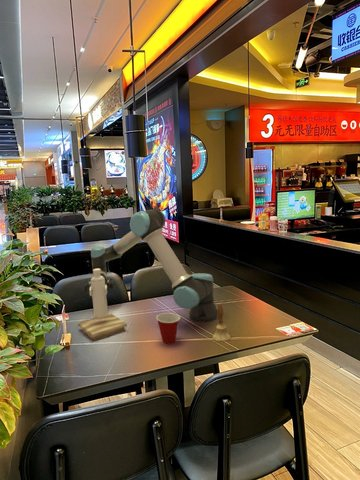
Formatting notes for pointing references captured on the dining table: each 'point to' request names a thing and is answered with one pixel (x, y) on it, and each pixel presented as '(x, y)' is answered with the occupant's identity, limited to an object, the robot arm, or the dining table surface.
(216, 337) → the hand bell
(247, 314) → the dining table surface
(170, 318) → the plastic cup
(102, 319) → the stand
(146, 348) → the dining table surface
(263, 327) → the dining table surface
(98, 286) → the spray bottle
